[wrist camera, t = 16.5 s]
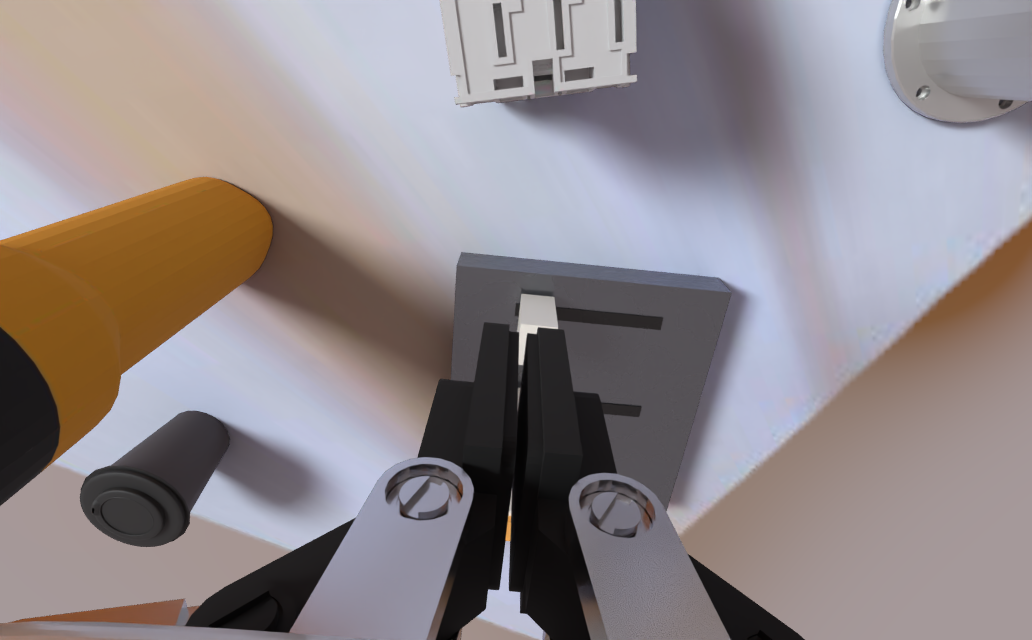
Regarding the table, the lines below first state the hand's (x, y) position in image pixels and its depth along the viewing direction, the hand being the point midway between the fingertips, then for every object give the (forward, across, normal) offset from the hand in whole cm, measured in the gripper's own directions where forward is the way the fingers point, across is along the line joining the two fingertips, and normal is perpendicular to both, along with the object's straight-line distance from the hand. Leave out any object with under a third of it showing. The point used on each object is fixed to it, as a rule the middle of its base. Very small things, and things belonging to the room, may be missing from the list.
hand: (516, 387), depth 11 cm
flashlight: (+29, +22, +7) cm, 37 cm away
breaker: (+26, -2, +10) cm, 28 cm away
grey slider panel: (+29, -6, +18) cm, 35 cm away
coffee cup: (+29, +27, +27) cm, 48 cm away
